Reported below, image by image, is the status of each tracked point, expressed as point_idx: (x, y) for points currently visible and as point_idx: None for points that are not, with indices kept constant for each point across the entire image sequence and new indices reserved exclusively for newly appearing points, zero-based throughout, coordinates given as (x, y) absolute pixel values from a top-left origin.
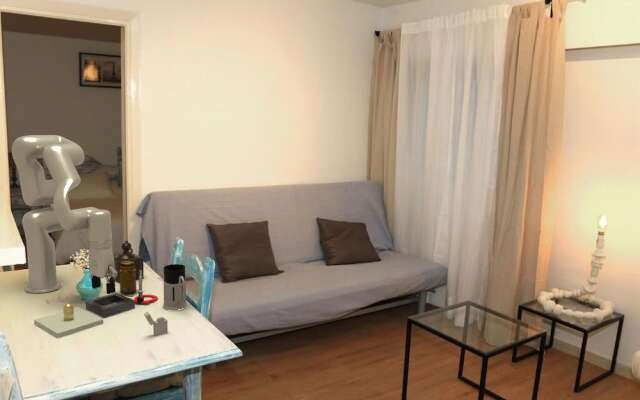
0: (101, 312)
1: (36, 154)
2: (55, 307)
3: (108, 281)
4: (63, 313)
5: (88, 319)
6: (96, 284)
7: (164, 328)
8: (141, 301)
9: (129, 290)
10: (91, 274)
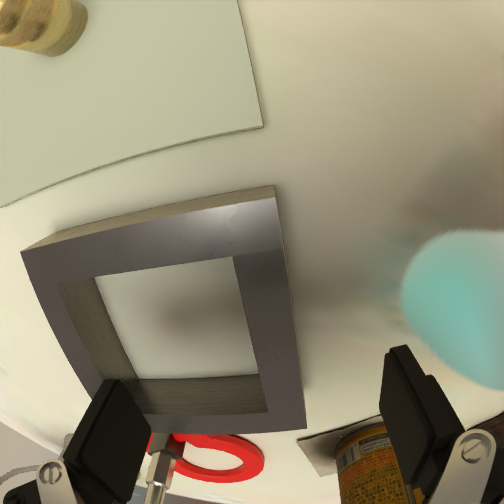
0: (53, 237)
1: None
2: (437, 42)
3: (38, 477)
4: None
5: (5, 139)
6: (392, 402)
7: None
8: (152, 440)
9: (340, 457)
10: (480, 469)
